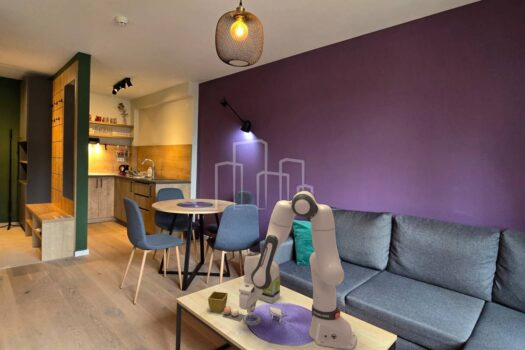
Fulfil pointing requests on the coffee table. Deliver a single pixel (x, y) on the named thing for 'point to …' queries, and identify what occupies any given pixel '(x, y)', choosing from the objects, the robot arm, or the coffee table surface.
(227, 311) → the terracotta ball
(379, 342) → the coffee table surface
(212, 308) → the flower pot
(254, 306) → the steel ball
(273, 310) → the origami figure
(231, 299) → the coffee table surface
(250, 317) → the race ring
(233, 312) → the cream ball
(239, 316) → the parts mat
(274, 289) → the tea box
